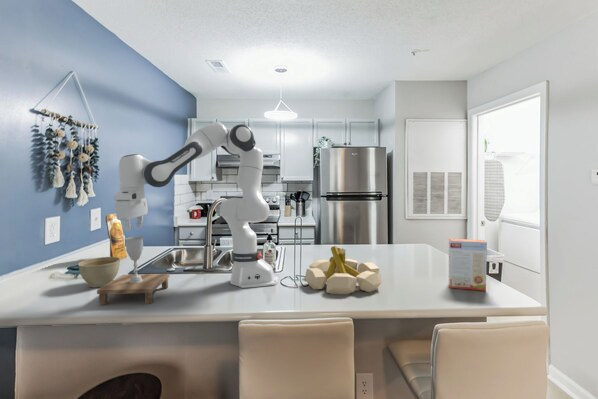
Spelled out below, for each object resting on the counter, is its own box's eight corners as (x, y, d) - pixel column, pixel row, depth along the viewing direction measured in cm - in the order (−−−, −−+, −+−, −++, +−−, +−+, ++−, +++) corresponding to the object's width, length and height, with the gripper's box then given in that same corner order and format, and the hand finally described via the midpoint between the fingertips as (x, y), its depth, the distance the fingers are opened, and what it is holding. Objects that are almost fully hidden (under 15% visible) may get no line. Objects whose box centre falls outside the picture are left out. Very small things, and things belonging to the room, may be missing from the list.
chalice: (149, 279, 134) (147, 236, 133) (139, 284, 127) (137, 239, 126) (133, 278, 135) (131, 236, 134) (122, 283, 128) (120, 239, 127)
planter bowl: (75, 285, 146) (74, 261, 145) (114, 277, 157) (113, 255, 157) (85, 293, 135) (83, 267, 134) (126, 284, 146) (125, 260, 146)
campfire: (310, 271, 166) (310, 238, 165) (376, 273, 161) (377, 239, 160) (301, 295, 132) (301, 254, 130) (385, 298, 127) (386, 256, 126)
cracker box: (483, 287, 139) (484, 239, 138) (486, 291, 133) (487, 242, 132) (447, 283, 143) (448, 237, 142) (449, 288, 138) (450, 240, 136)
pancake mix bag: (102, 263, 184) (100, 215, 182) (119, 255, 203) (117, 211, 201) (115, 262, 185) (112, 214, 183) (130, 255, 204) (128, 211, 202)
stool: (169, 286, 142) (169, 273, 142) (151, 304, 122) (150, 288, 122) (123, 288, 141) (122, 274, 140) (97, 305, 121) (96, 290, 120)
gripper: (136, 193, 139) (137, 224, 140) (111, 196, 119) (113, 232, 119) (150, 193, 139) (152, 224, 140) (128, 195, 119) (130, 232, 120)
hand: (134, 228), depth 130 cm, fingers open, 8 cm apart
